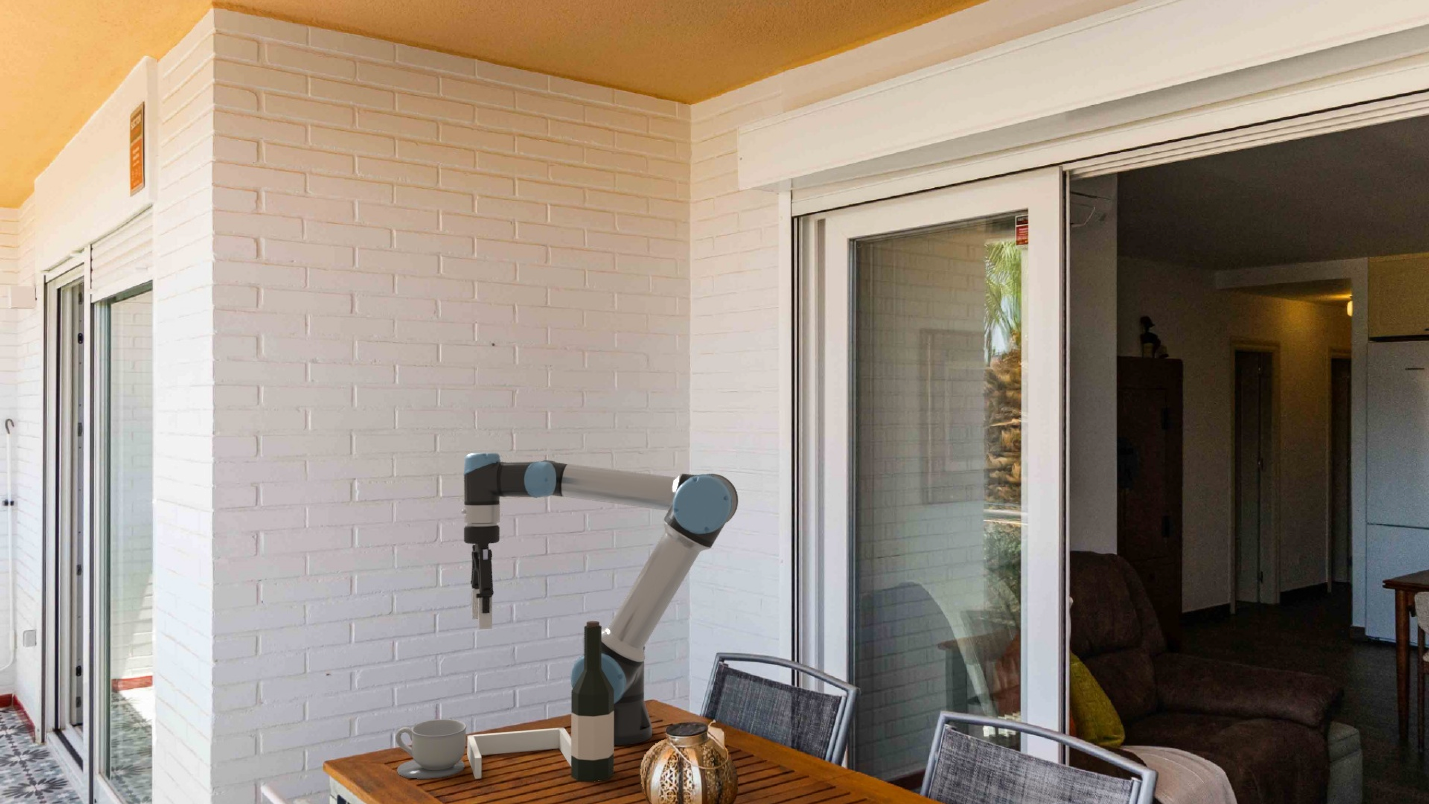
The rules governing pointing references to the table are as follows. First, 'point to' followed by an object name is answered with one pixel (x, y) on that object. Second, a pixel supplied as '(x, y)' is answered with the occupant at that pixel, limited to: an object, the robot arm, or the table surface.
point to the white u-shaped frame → (516, 744)
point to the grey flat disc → (416, 771)
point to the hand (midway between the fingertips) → (481, 623)
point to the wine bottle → (592, 714)
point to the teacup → (435, 743)
